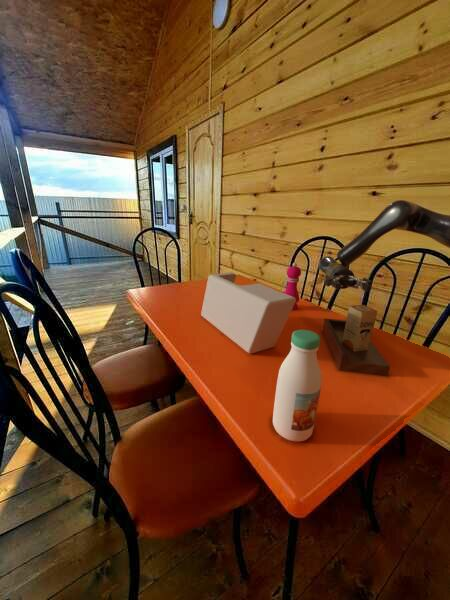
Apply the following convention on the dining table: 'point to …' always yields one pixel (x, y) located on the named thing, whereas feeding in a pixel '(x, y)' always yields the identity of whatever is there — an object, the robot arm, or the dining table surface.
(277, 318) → the stepped white block
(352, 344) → the shoe polish box
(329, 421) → the dining table surface
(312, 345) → the milk bottle
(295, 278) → the pepper mill
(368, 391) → the dining table surface
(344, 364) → the dark brown tray
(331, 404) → the dining table surface
